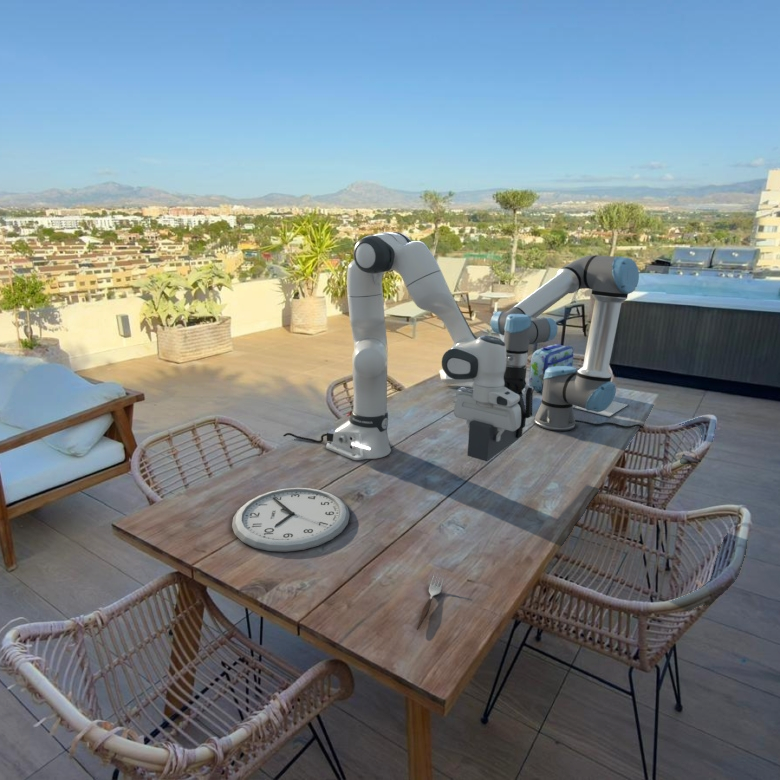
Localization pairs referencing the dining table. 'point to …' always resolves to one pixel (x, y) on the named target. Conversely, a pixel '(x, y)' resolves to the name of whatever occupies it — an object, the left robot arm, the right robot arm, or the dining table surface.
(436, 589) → the fork
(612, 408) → the invitation card
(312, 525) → the wall clock
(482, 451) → the box
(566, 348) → the lunch box
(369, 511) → the dining table surface
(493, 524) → the dining table surface
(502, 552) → the dining table surface
